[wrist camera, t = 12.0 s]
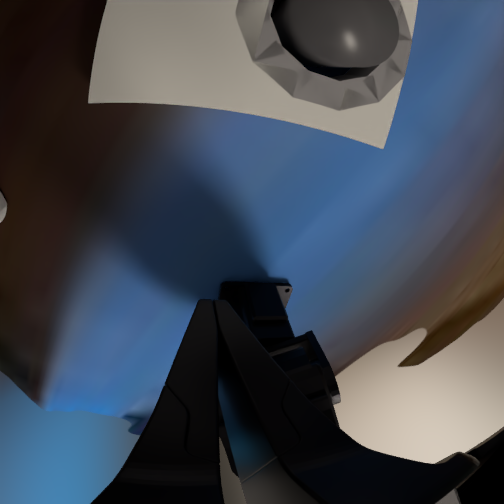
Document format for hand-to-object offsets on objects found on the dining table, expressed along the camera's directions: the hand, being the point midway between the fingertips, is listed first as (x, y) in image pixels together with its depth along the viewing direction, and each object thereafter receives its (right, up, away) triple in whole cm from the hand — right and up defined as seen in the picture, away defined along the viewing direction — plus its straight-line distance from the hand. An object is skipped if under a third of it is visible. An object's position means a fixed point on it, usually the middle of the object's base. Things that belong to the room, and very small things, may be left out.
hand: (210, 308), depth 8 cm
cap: (+5, +16, +5) cm, 18 cm away
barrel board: (+2, +16, +4) cm, 17 cm away
